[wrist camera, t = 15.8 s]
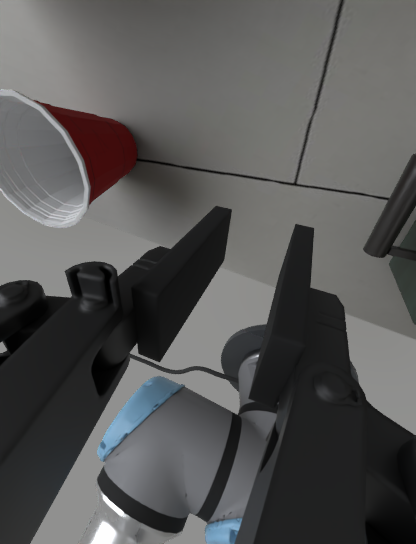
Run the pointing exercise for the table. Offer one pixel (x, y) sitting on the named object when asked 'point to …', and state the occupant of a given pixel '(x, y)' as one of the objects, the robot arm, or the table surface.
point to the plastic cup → (58, 158)
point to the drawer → (412, 252)
